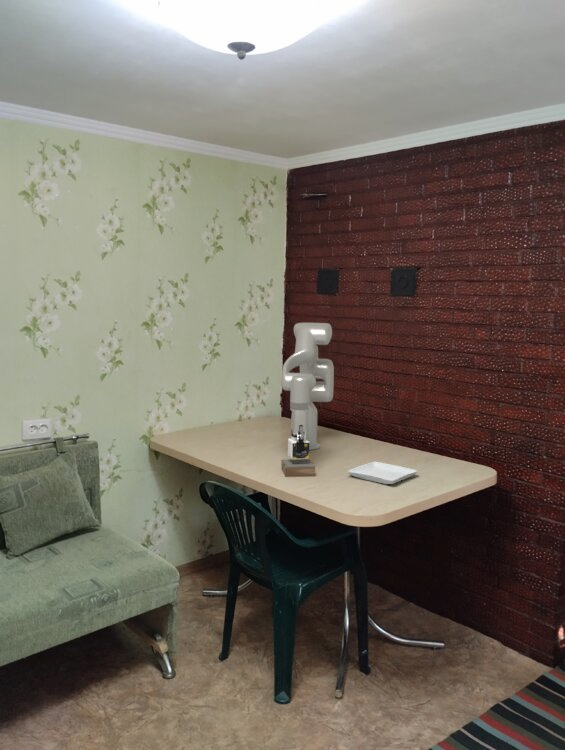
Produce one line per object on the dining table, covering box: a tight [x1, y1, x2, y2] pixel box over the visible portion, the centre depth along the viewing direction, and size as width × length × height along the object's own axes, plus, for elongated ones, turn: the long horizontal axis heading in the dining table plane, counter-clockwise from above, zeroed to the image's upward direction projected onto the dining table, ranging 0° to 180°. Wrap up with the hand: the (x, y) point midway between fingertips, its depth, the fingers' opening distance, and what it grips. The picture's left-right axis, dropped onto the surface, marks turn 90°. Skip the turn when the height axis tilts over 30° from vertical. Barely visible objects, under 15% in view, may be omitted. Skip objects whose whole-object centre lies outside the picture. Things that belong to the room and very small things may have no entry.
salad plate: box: [347, 461, 419, 485], centre depth 257 cm, size 21×21×3 cm
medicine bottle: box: [287, 429, 310, 460], centre depth 260 cm, size 7×7×12 cm
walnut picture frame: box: [280, 458, 316, 478], centre depth 261 cm, size 12×12×4 cm
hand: (298, 448), depth 260 cm, fingers closed on medicine bottle, 7 cm apart
